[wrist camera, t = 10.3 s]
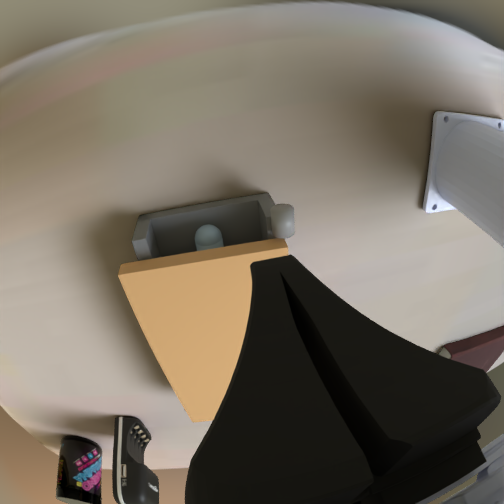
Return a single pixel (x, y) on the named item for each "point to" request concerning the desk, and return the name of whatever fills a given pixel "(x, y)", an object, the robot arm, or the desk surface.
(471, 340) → the book
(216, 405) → the cover
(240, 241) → the grey tray with rod
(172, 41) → the desk surface
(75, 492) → the supplement container
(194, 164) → the desk surface
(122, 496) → the battery charger
